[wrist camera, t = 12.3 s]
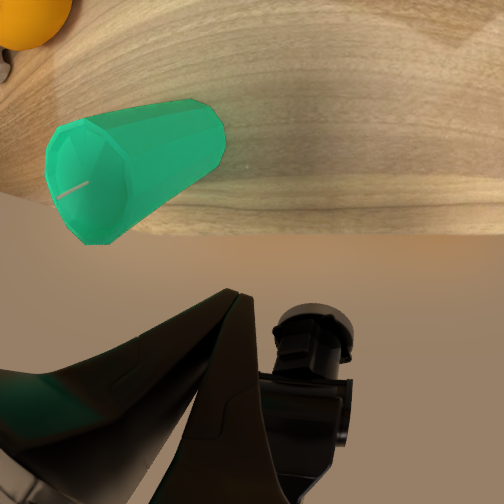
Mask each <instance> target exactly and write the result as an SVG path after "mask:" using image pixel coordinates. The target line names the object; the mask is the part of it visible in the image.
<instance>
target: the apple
mask: <svg viewBox="0 0 504 504" xmlns="http://www.w3.org/2000/svg"><path fill="white" fill-rule="evenodd" d="M71 5H72V0H0V45H1V46H2V47H5V48H7V49H10V50H14V51H23V50H28V49H33V48H36V47H39V46H40V45H42V44H44V43H45V42H47V41H48V40H49V39H51V38H52V37H53V36H55V34H56V33H57V32H58V31H59V30H60V28H61V27H62V26H63V24H64V23H65V21H66V19H67V17H68V15H69V12H70V10H71Z"/></svg>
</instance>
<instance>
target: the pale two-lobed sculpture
mask: <svg viewBox="0 0 504 504" xmlns="http://www.w3.org/2000/svg"><path fill="white" fill-rule="evenodd" d="M4 49H5V47H2V46H1V45H0V84H1V83H2V82H3V81H4V80H5V79H6V77H7V75H8V73H9V71H10V65H9V64H7V63H5V62H4V60H3V58H2V51H3V50H4Z"/></svg>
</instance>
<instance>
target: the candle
mask: <svg viewBox="0 0 504 504" xmlns="http://www.w3.org/2000/svg"><path fill="white" fill-rule="evenodd" d="M225 148H226V141H225V133H224V125H223V123H222V122H221V121H220V119H219V118H218V116H217V115H216V114H215V112H214V111H213V110H212V108H211V107H210V106H207V105H205V104H203V103H200V102H198V101H195V100H193V99H186V100H178V101H170V102H163V103H156V104H150V105H144V106H138V107H133V108H127V109H122V110H117V111H112V112H108V113H103V114H99V115H94V116H90V117H86V118H82V119H79V120H76V121H73V122H70V123H68V124H65V125H62V126H59V127H57V129H56V131H55V133H54V134H53V136H52V138H51V140H50V142H49V144H48V146H47V148H46V159H45V179H46V182H47V185H48V188H49V191H50V194H51V196H52V199H53V202H54V204H55V206H56V208H57V210H58V212H59V214H60V215H61V217H62V219H63V221H64V222H65V224H66V226H67V228H68V229H69V230H70V231H71V232H72V233H73V234H74V235H75V236H76V237H77V238H78V239H79V240H80V241H81V242H83V243H84V244H85V245H103V244H104V245H107V244H111V243H112V242H113V241H114V240H116V239H117V238H118V237H120V236H121V235H122V234H123V233H125V232H126V231H128V230H129V229H130V228H132V227H133V226H134V225H136V224H137V223H138V222H140V221H141V220H142V219H144V218H145V217H146V216H148V215H149V214H151V213H152V212H153V211H155V210H156V209H157V208H159V207H160V206H162V205H163V204H165V203H166V202H167V201H169V200H170V199H172V198H173V197H175V196H176V195H177V194H179V193H180V192H182V191H183V190H185V189H186V188H188V187H189V186H191V185H192V184H194V183H195V182H197V181H198V180H200V179H201V178H203V177H204V176H205V175H207V174H208V173H209V172H211V171H212V170H214V169H215V168H216V167H218V165H219V163H220V160H221V158H222V156H223V153H224V151H225Z"/></svg>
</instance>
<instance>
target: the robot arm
mask: <svg viewBox="0 0 504 504" xmlns="http://www.w3.org/2000/svg"><path fill="white" fill-rule="evenodd" d="M328 319H332V320H328ZM277 331H279V332H277ZM272 334H273V335H274V337H275V339H276V340H277V342H278V344H279V348H278V351H277V359H276V362H275V365H274V368H273V371H272V374H269V373H261V372H260V371H258V359H257V345H256V344H257V343H256V328H255V314H254V299H253V297H252V296H249V295H246V294H243V293H241V294H239V292H237V291H234V290H231V289H228V288H226V289H223V290H222V291H220V292H218V293H216V294H214V295H213V296H211V297H209V298H207V299H205V300H204V301H202V302H200V303H198V304H196V305H194V306H193V307H191V308H189V309H187V310H185V311H183V312H182V313H180V314H178V315H176V316H174V317H172V318H171V319H169V320H167V321H165V322H163V323H161V324H159V325H158V326H156V327H154V328H152V329H150V330H148V331H146V332H145V333H143V334H141V335H139V337H135V338H133V339H131V340H129V341H128V342H126V343H124V344H122V345H119V346H117V347H116V348H113V349H111V350H109V351H107V352H104V353H102V354H100V355H97V356H95V357H92V358H89V359H87V360H84V361H82V362H79V363H76V364H74V365H71V366H68V367H66V368H63V369H60V370H57V371H54V372H50V373H44V374H30V373H23V372H16V371H9V370H3V369H0V504H126V503H127V501H128V500H129V499H130V497H131V495H132V494H133V492H134V491H135V489H136V488H137V486H138V485H139V483H140V482H141V480H142V479H143V477H144V475H145V474H146V472H147V469H149V468H150V466H151V464H152V463H153V461H154V460H155V458H156V457H157V455H158V453H159V452H160V450H161V449H162V447H163V446H164V444H165V442H166V441H167V439H168V438H169V436H170V434H171V433H172V431H173V429H174V428H175V426H176V425H177V423H178V421H179V420H180V418H181V417H182V415H183V414H184V412H185V410H186V409H187V407H188V405H189V404H190V402H191V401H192V399H193V397H194V395H195V394H196V392H197V391H198V392H197V395H196V398H195V401H194V403H193V406H192V409H191V413H190V415H189V418H188V420H187V423H186V426H185V429H184V432H183V435H182V439H181V440H180V443H179V446H178V449H177V451H176V453H175V456H174V458H173V460H172V462H171V464H170V466H169V468H168V469H167V471H166V473H165V475H164V477H163V479H162V480H161V482H160V484H159V486H158V488H157V489H156V491H155V493H154V495H153V497H152V498H151V500H150V502H149V504H303V500H304V496H305V494H306V493H307V492H308V491H309V490H310V489H311V488H312V487H313V486H314V485H315V484H316V483H317V482H318V481H319V480H320V479H321V477H322V476H323V475H324V474H325V473H326V472H327V471H328V469H329V468H330V467H331V465H332V462H333V457H334V451H335V447H345V444H346V439H347V434H348V428H349V421H350V413H351V401H352V386H353V379H347V380H338V372H339V364H343V363H348V362H350V361H351V360H352V355H351V353H350V350H349V348H348V346H347V343H346V341H345V339H344V336H343V334H342V332H341V329H340V327H339V325H338V322H337V320H336V318H335V316H334V315H333V314H327V315H323V316H318V317H314V318H309V319H305V320H300V321H296V322H291V323H287V324H283V325H278V326H275V327H273V329H272Z"/></svg>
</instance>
